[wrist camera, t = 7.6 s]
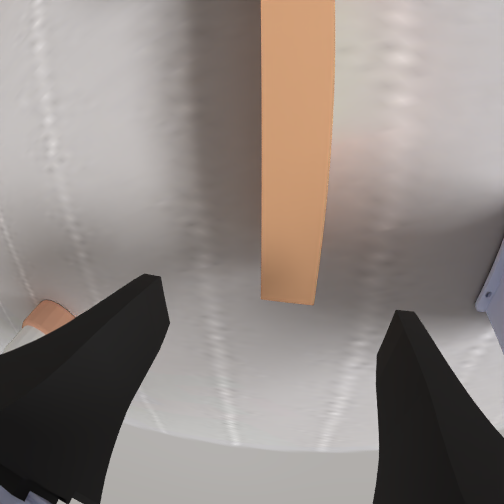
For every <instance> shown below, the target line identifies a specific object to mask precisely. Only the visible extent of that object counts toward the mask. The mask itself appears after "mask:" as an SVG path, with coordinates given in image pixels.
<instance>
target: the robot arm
mask: <svg viewBox="0 0 504 504" xmlns="http://www.w3.org/2000/svg"><path fill="white" fill-rule="evenodd" d="M487 292H489V293H487ZM486 293H487V294H486ZM475 308H476V310H477V311H479V312H486V313H487V316H488V318H489V320H490V322H491V325H492V327H493V329H494V332H495V334H496V336H497V339H498V341H499V344H500V346H501V349H502V351H503V354H504V239H503V242H502V244H501V247H500V249H499V252H498V254H497V257H496V259H495V262H494V264H493V266H492V269H491V271H490V273H489V275H488V278H487V280H486V282H485V284H484V286H483V288H482V291H481V293H480V295H479V297H478V299H477V301H476V303H475ZM169 324H170V321H169V316H168V311H167V307H166V302H165V297H164V292H163V286H162V281H161V277H160V276H154V275H149V274H143V275H141V276H139V277H138V278H136V279H134V280H133V281H131V282H130V283H128V284H127V285H125V286H124V287H122V288H121V289H119V290H118V291H116V292H115V293H113V294H112V295H110V296H109V297H107V298H106V299H104V300H103V301H101V302H100V303H98V304H97V305H95V306H94V307H92V308H91V309H89V310H87V311H86V312H84V313H82V314H81V315H79V316H78V317H76V318H74V319H73V320H71V321H69V322H68V323H66V324H65V325H63V326H61V327H59V328H58V329H56V330H54V331H52V332H50V333H48V334H46V335H44V336H42V337H41V338H39V339H37V340H34V341H32V342H30V343H28V344H25V345H23V346H21V347H18V348H16V349H14V350H11V351H9V352H6V353H3V354H1V355H0V504H56V503H57V501H58V499H60V500H61V501H63V502H65V503H66V504H69V503H70V501H71V498H74V499H76V500H78V501H79V502H81V503H83V504H100V501H101V495H102V490H103V486H104V481H105V476H106V472H107V468H108V465H109V461H110V458H111V454H112V451H113V448H114V445H115V442H116V439H117V436H118V433H119V430H120V428H121V425H122V422H123V420H124V417H125V415H126V412H127V410H128V408H129V406H130V404H131V401H132V399H133V398H134V396H135V394H136V392H137V390H138V388H139V387H140V385H141V383H142V381H143V379H144V377H145V376H146V374H147V372H148V370H149V368H150V367H151V365H152V363H153V361H154V359H155V357H156V356H157V354H158V352H159V350H160V348H161V345H162V343H163V340H164V338H165V335H166V332H167V330H168V327H169ZM376 393H377V408H378V426H379V463H378V473H377V481H376V488H375V494H374V500H373V504H504V438H503V437H502V435H501V434H500V433H499V432H498V431H497V430H496V429H495V427H494V426H493V425H492V424H491V423H490V421H489V420H488V419H487V418H486V416H485V415H484V414H483V413H482V411H481V410H480V409H479V407H478V406H477V405H476V404H475V402H474V401H473V400H472V398H471V397H470V395H469V394H468V393H467V391H466V390H465V388H464V387H463V385H462V384H461V383H460V381H459V380H458V378H457V377H456V375H455V374H454V372H453V371H452V369H451V368H450V366H449V365H448V363H447V362H446V360H445V358H444V357H443V355H442V354H441V352H440V351H439V349H438V348H437V346H436V344H435V343H434V341H433V340H432V338H431V336H430V335H429V333H428V332H427V330H426V329H425V327H424V326H423V324H422V322H421V321H420V319H419V318H418V316H417V315H416V314H415V312H412V311H402V310H396V311H395V313H394V316H393V318H392V321H391V323H390V326H389V328H388V330H387V333H386V335H385V338H384V340H383V342H382V344H381V347H380V349H379V351H378V353H377V366H376Z"/></svg>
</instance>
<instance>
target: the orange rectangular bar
mask: <svg viewBox="0 0 504 504" xmlns="http://www.w3.org/2000/svg"><path fill="white" fill-rule="evenodd" d="M334 76H335V0H261V77H262V232H261V299H263V300H271V301H279V302H287V303H296V304H305V305H314V299H315V292H316V285H317V278H318V271H319V263H320V255H321V247H322V239H323V230H324V221H325V212H326V202H327V191H328V180H329V168H330V155H331V140H332V124H333V104H334Z"/></svg>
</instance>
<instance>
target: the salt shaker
mask: <svg viewBox="0 0 504 504" xmlns="http://www.w3.org/2000/svg"><path fill="white" fill-rule="evenodd" d="M74 318H75V317H74V316H73V315H72V314H71V313H70V312H68V311H67V310H66V309H65V308H63V307H62V306H60V305H59V304H57V303H55V302H53V301H48V300H44V301H42V302H40V304H39V305H38V306H37V307H36V308H35V309H34V310H33V311H32V312H31V313H30V315H29V316H28V317H27V318H26V319H25V320H24V322H23V325H22V329H21V331H20V332H19V333H18V334H17V335H16V336H15V337H14V338H13V340H12V341H11V342H10V343H9V344H8V345H7V346H6V348H5V349H4V351H3V353H6V352H9V351H11V350H14V349H16V348H18V347H21V346H23V345H25V344H28V343H30V342H32V341H34V340H37V339H39V338H41V337H42V336H44V335H46V334H48V333H50V332H52V331H54V330H56V329H58V328H59V327H61V326H63V325H65V324H66V323H68V322H69V321H71V320H73V319H74ZM3 353H2V354H3Z"/></svg>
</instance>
